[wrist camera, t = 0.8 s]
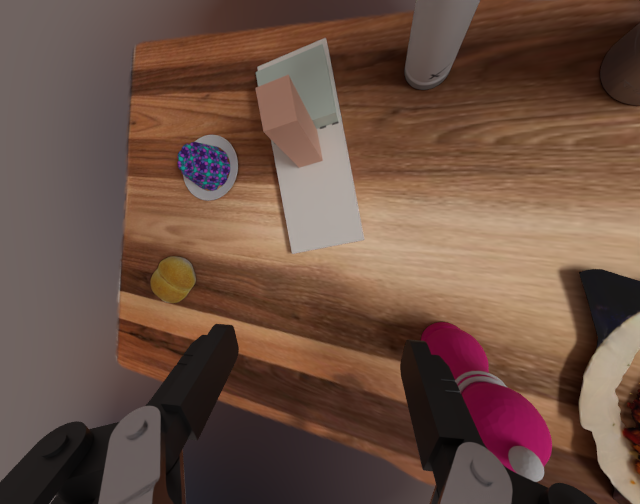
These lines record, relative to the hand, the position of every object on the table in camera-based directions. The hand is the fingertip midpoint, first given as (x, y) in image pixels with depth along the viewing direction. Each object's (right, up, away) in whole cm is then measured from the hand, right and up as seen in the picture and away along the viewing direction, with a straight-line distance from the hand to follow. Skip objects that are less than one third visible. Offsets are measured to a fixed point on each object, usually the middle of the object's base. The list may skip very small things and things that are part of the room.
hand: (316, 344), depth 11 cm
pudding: (-20, +20, +32) cm, 43 cm away
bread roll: (-28, -1, +35) cm, 44 cm away
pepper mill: (+19, -9, +23) cm, 31 cm away
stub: (-2, +21, +26) cm, 33 cm away
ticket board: (-1, +21, +27) cm, 34 cm away
